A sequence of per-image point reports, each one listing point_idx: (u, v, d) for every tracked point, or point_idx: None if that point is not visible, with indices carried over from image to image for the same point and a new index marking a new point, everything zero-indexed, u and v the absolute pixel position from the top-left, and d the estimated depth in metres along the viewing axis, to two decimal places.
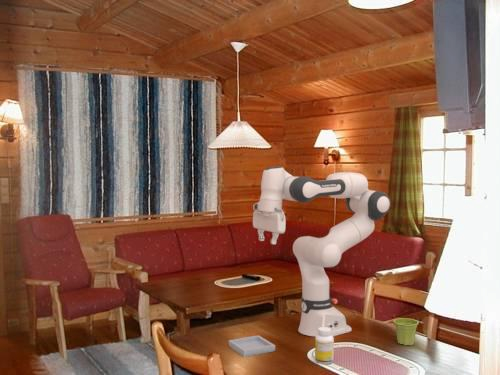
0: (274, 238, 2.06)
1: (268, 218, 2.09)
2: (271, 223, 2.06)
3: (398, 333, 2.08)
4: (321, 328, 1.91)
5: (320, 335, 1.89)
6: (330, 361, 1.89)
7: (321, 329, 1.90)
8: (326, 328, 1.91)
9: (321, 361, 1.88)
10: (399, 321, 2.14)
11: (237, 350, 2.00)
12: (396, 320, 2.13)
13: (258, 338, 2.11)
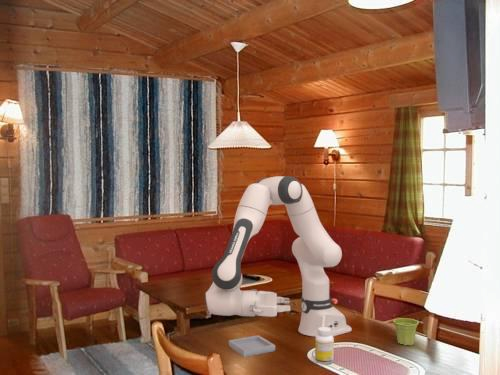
0: (283, 309, 1.85)
1: None
2: None
3: (398, 333, 2.08)
4: (321, 328, 1.91)
5: (320, 335, 1.89)
6: (330, 361, 1.89)
7: (321, 329, 1.90)
8: (326, 328, 1.91)
9: (321, 361, 1.88)
10: (399, 321, 2.14)
11: (237, 350, 2.00)
12: (396, 320, 2.13)
13: (258, 338, 2.11)
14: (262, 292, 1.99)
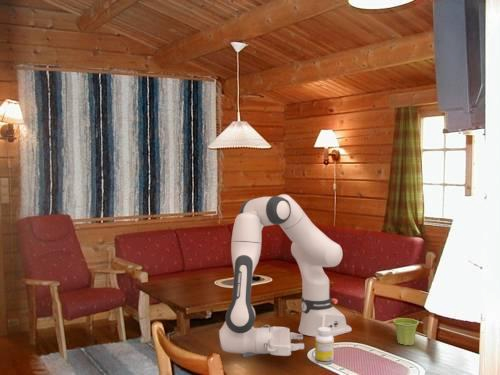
0: (297, 347, 1.86)
1: None
2: None
3: (398, 333, 2.08)
4: (321, 328, 1.91)
5: (320, 335, 1.89)
6: (330, 361, 1.89)
7: (321, 329, 1.90)
8: (326, 328, 1.91)
9: (321, 361, 1.88)
10: (399, 321, 2.14)
11: None
12: (396, 320, 2.13)
13: None
14: (275, 328, 2.00)
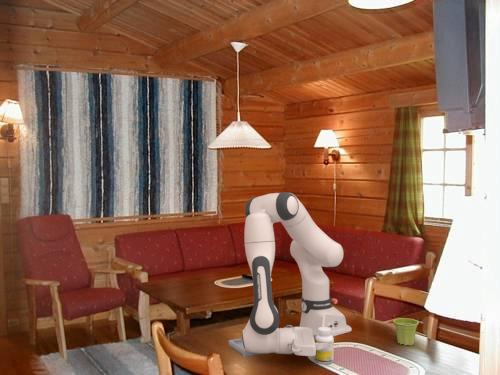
0: (321, 347, 1.86)
1: None
2: None
3: (398, 333, 2.08)
4: (321, 328, 1.91)
5: (320, 335, 1.89)
6: (330, 361, 1.89)
7: (321, 329, 1.90)
8: (326, 328, 1.91)
9: (321, 361, 1.88)
10: (399, 321, 2.14)
11: (237, 350, 2.00)
12: (396, 320, 2.13)
13: None
14: (298, 328, 1.99)
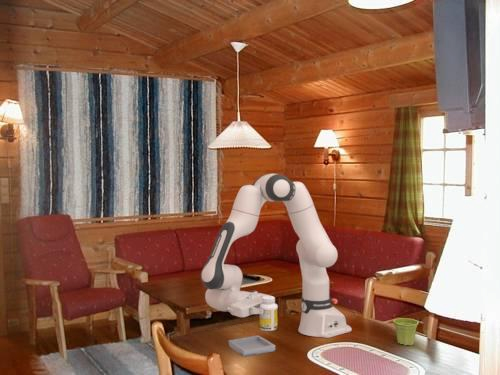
0: (256, 312, 1.94)
1: None
2: None
3: (398, 333, 2.08)
4: (266, 296, 1.98)
5: None
6: (268, 329, 1.94)
7: (264, 297, 1.97)
8: (270, 297, 1.97)
9: (260, 327, 1.96)
10: (399, 321, 2.14)
11: (237, 350, 2.00)
12: (396, 320, 2.13)
13: (258, 338, 2.11)
14: (261, 295, 2.09)
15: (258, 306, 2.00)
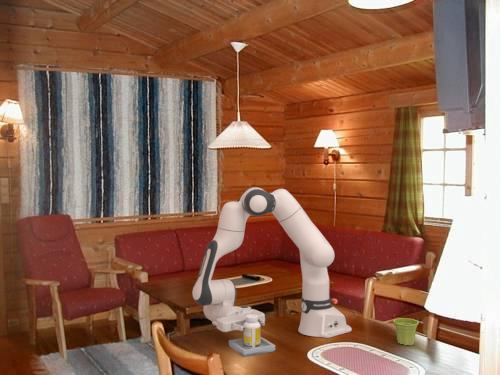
0: (237, 328, 2.01)
1: None
2: None
3: (398, 333, 2.08)
4: (251, 315, 2.04)
5: (246, 320, 2.04)
6: (249, 346, 2.01)
7: (248, 315, 2.04)
8: (254, 316, 2.03)
9: (243, 344, 2.03)
10: (399, 321, 2.14)
11: (237, 350, 2.00)
12: (396, 320, 2.13)
13: None
14: (253, 311, 2.15)
15: (244, 322, 2.07)
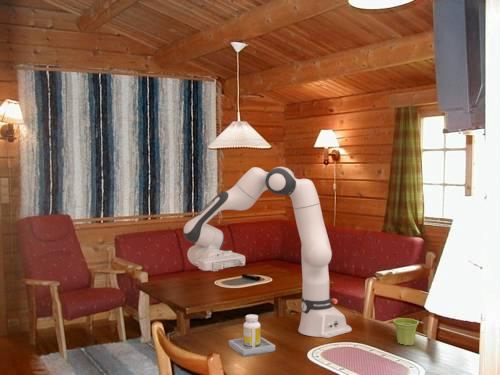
0: (217, 267, 2.10)
1: None
2: None
3: (398, 333, 2.08)
4: (251, 315, 2.04)
5: (246, 320, 2.04)
6: (249, 346, 2.01)
7: (248, 315, 2.04)
8: (254, 316, 2.03)
9: (243, 344, 2.03)
10: (399, 321, 2.14)
11: (237, 350, 2.00)
12: (396, 320, 2.13)
13: None
14: (234, 254, 2.24)
15: (225, 262, 2.16)
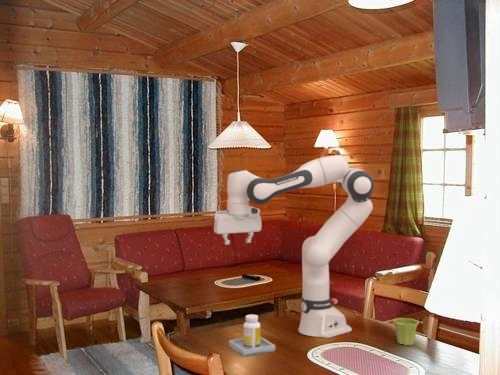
0: (224, 238, 2.17)
1: None
2: None
3: (398, 333, 2.08)
4: (251, 315, 2.04)
5: (246, 320, 2.04)
6: (249, 346, 2.01)
7: (248, 315, 2.04)
8: (254, 316, 2.03)
9: (243, 344, 2.03)
10: (399, 321, 2.14)
11: (237, 350, 2.00)
12: (396, 320, 2.13)
13: None
14: (257, 219, 2.21)
15: None
